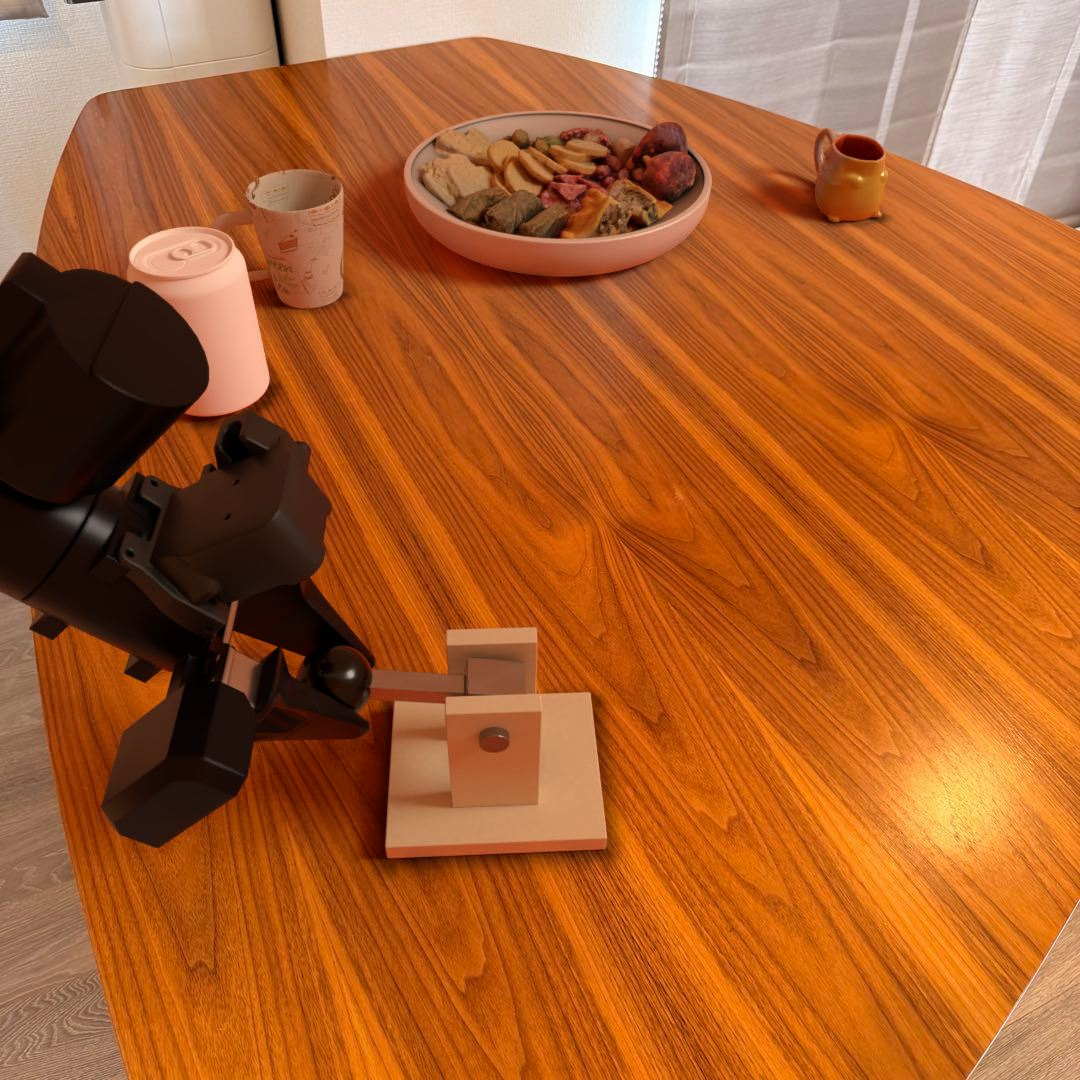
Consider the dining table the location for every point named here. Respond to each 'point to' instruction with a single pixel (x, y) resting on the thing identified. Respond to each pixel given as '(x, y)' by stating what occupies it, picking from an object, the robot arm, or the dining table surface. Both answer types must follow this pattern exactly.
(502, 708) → the bracket
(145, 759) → the robot arm
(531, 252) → the bowl
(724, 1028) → the dining table surface
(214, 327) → the beverage can
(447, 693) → the lever
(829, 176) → the mug
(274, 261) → the mug
